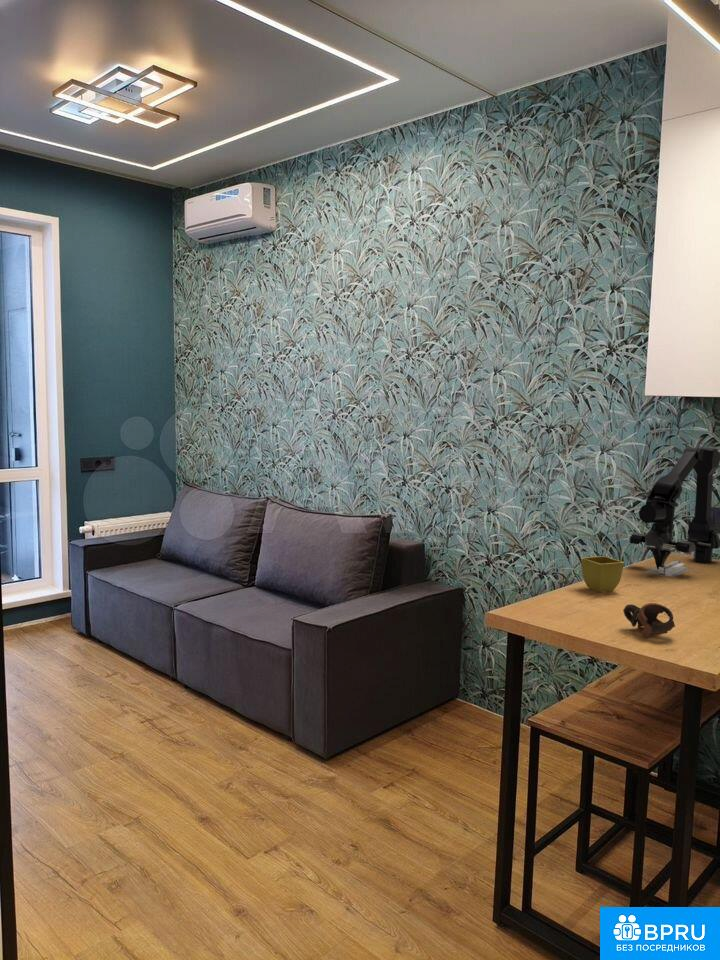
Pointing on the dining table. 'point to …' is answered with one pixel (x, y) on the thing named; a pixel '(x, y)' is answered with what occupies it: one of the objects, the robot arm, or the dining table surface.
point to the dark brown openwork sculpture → (649, 618)
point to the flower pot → (601, 573)
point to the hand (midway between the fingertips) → (659, 569)
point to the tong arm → (667, 566)
